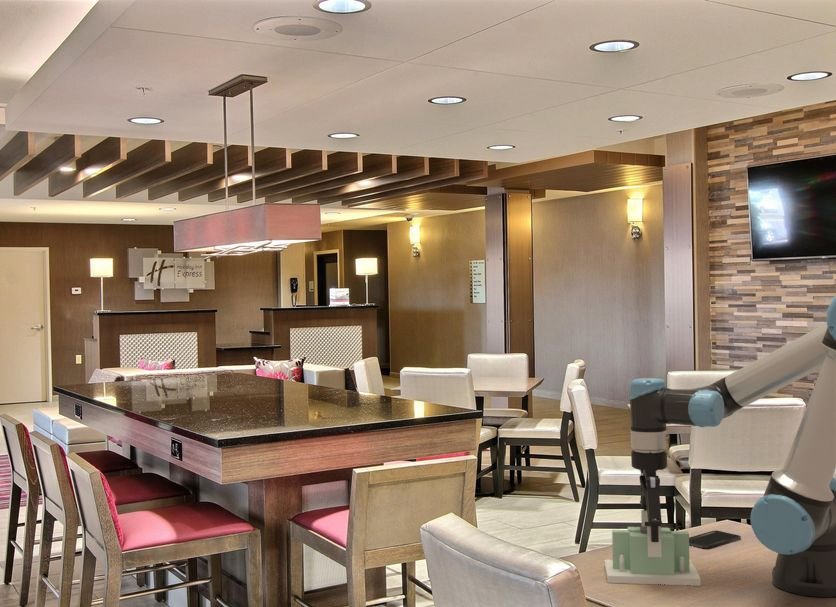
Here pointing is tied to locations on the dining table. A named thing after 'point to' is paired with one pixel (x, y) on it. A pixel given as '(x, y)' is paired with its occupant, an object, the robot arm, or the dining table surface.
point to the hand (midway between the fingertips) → (651, 548)
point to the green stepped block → (636, 551)
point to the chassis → (652, 575)
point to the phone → (712, 539)
